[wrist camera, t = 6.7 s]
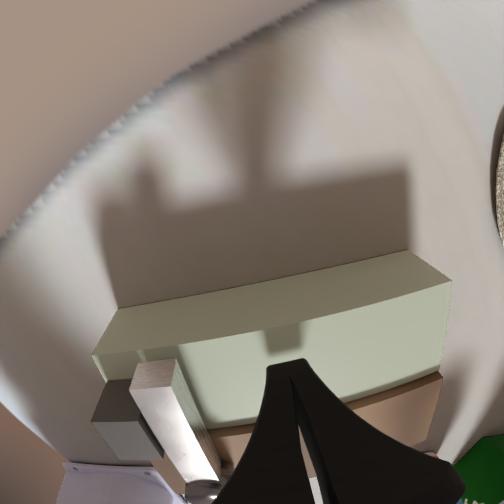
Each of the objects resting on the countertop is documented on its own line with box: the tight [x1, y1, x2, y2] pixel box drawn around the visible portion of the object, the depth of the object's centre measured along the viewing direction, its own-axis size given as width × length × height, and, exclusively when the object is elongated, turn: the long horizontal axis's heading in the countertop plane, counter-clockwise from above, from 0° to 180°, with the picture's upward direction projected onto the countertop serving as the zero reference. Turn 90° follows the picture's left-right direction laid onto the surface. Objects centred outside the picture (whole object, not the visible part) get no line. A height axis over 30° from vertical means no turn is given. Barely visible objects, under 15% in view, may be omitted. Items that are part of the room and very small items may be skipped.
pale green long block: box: [91, 250, 452, 461], centre depth 13 cm, size 15×5×6 cm, turn 101°
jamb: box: [149, 371, 443, 494], centre depth 16 cm, size 15×6×4 cm, turn 101°
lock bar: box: [129, 358, 235, 504], centre depth 11 cm, size 9×2×2 cm, turn 10°
